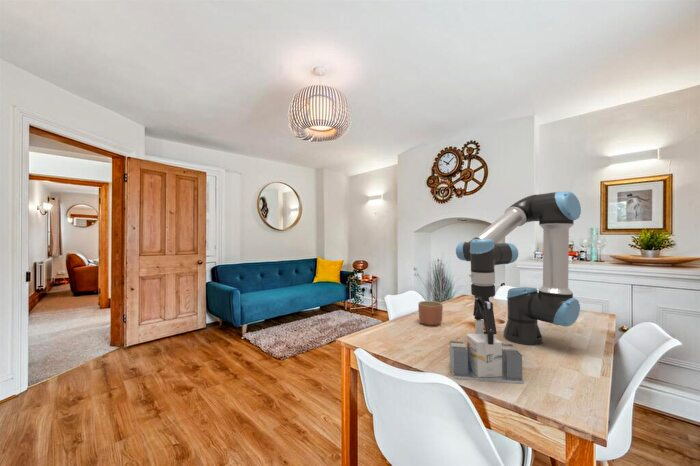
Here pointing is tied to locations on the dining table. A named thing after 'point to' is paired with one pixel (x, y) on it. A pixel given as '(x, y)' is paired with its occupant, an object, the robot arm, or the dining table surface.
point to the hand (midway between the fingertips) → (484, 345)
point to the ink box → (484, 356)
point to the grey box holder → (509, 375)
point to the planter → (430, 312)
